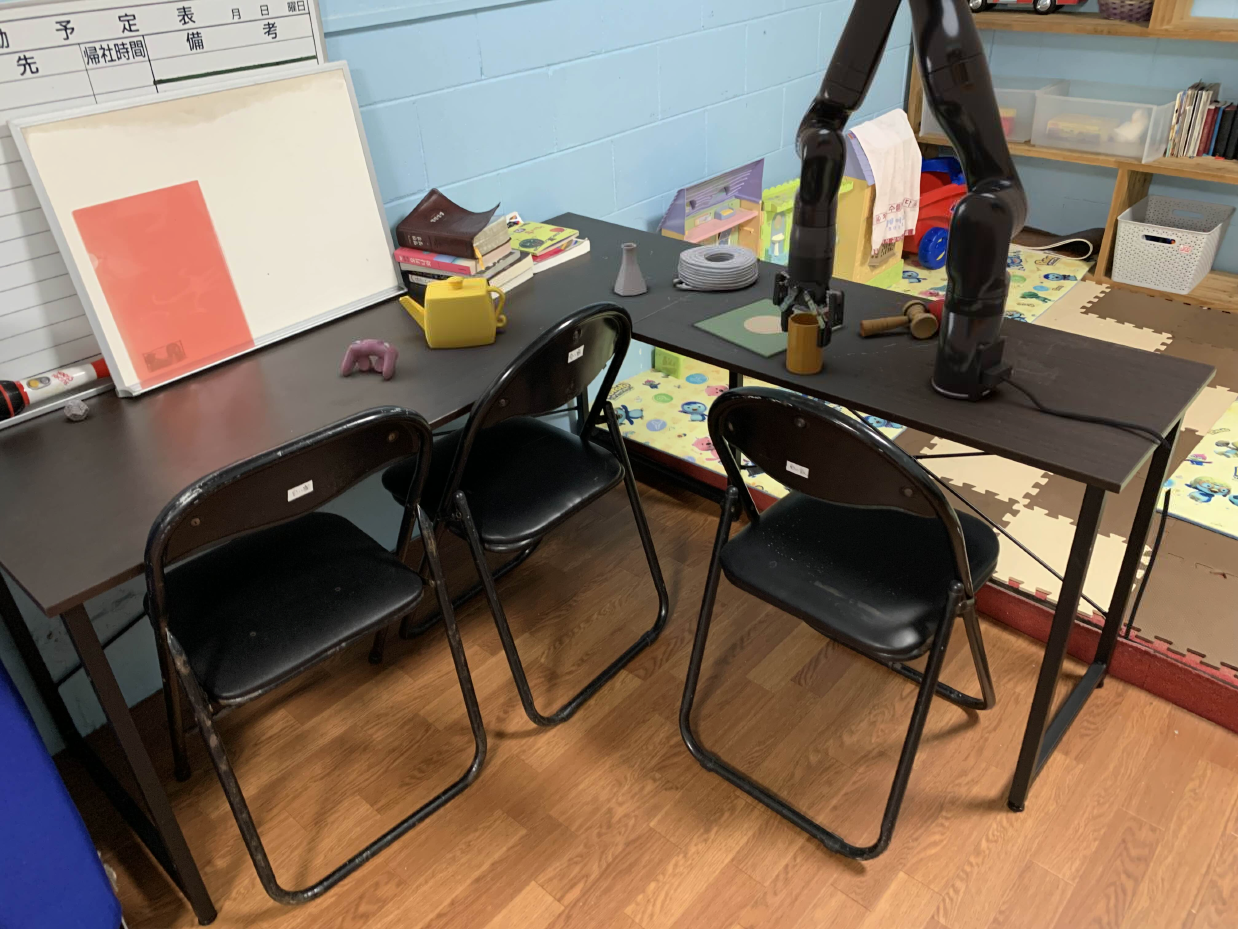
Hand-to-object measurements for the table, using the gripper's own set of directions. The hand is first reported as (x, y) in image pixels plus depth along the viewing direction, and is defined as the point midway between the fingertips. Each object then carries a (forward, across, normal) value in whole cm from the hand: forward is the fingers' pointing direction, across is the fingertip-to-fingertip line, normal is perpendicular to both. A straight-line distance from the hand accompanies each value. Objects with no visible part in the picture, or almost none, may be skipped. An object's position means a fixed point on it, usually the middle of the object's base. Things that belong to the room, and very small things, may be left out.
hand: (804, 338), depth 161 cm
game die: (+6, -66, -107) cm, 126 cm away
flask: (+6, -50, 0) cm, 51 cm away
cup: (+5, +1, 0) cm, 5 cm away
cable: (+6, -43, +18) cm, 47 cm away
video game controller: (+6, -49, -60) cm, 78 cm away
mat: (+5, -16, +7) cm, 19 cm away
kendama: (+5, +3, +25) cm, 25 cm away
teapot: (+6, -53, -41) cm, 67 cm away
